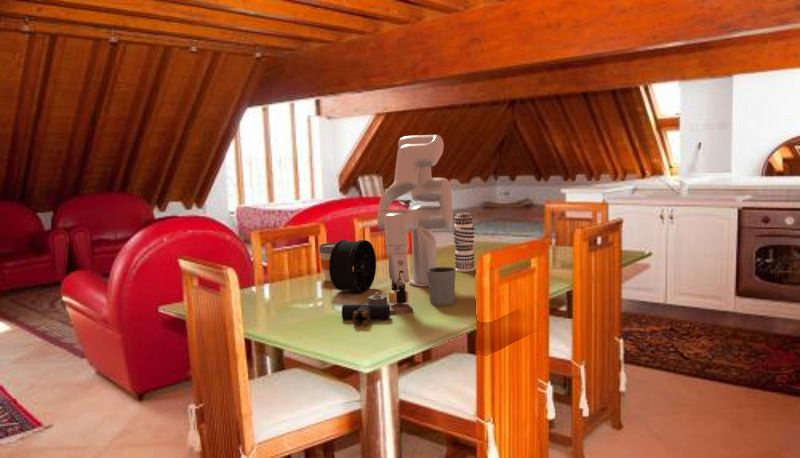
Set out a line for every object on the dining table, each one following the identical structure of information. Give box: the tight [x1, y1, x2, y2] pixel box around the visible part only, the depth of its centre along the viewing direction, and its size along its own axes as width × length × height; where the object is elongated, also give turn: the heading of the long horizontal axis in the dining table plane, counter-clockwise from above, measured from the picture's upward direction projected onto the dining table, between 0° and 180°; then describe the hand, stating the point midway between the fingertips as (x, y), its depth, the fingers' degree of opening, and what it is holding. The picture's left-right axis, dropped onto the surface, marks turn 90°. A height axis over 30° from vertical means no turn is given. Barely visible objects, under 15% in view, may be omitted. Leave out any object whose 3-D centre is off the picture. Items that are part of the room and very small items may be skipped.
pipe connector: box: [341, 304, 391, 327], centre depth 206 cm, size 12×5×15 cm
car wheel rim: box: [329, 239, 377, 293], centre depth 250 cm, size 20×10×20 cm, turn 156°
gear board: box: [364, 291, 414, 315], centre depth 220 cm, size 14×13×6 cm
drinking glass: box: [427, 266, 456, 306], centre depth 226 cm, size 10×10×12 cm
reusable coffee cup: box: [318, 241, 338, 282], centre depth 274 cm, size 12×13×15 cm
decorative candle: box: [453, 212, 475, 272], centre depth 282 cm, size 9×9×25 cm
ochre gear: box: [388, 289, 409, 304], centre depth 221 cm, size 6×6×4 cm
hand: (399, 299), depth 221 cm, fingers closed on ochre gear, 6 cm apart
